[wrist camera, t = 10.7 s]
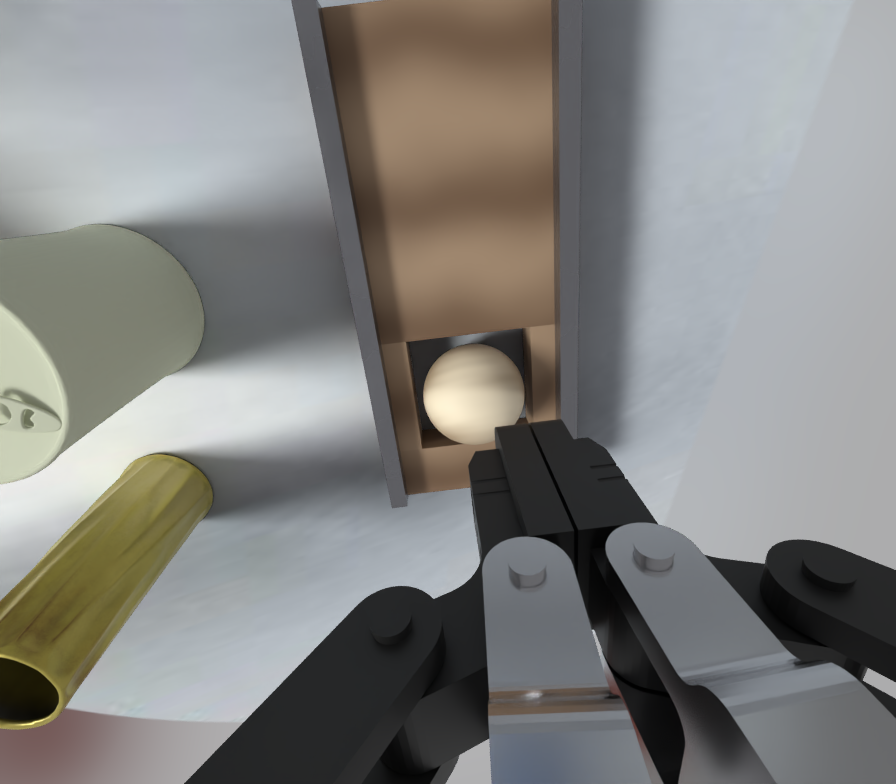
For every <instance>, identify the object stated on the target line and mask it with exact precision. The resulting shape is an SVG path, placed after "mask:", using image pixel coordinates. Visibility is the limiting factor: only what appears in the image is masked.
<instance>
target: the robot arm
mask: <svg viewBox="0 0 896 784" xmlns="http://www.w3.org/2000/svg"><path fill="white" fill-rule="evenodd" d="M495 447H496V449H491V450H483V451H475V453H474V455H473V457H472V459H471V461H470V463H469V465H468V469H469V478H470V488H471V497H472V506H473V515H474V523H475V529H476V536H477V542H478V549H479V556H480V564H479V567H478V569H477V570H476V572H475V574H474V575H473V576H472V577H471V578H470V579H469V580H468V581H467V582H466V583H465V584H463V585H462V586H460V587H459V588H457V589H455V590H453V591H451V592H449V593H447V594H445V595H442V596H440V597H438V598H435V599H433V598H432V597H431V596H430V595H428V594H427V593H425V592H424V591H422V590H419V589H417V588H413V587H409V586H395V587H389V588H385V589H382V590H380V591H377V592H375V593H373V594H371V595H370V596H368V597H367V598H365V599H364V600H363V601H362V602H360V603H359V604H358V605H357V606H356V607H355V608H354V609H353V610H352V611H351V612H350V613H349V614H348V615H347V616H346V618H345V619H344V620H343V621H342V622H341V623H340V624H339V625H338V626H337V627H336V628H335V629H334V630H333V631H332V632H331V633H330V634H329V635H328V636H327V637H326V638H325V639H324V640H323V641H322V642H321V643H320V644H319V645H318V646H317V647H316V648H315V649H314V650H313V652H312V653H311V654H310V655H309V656H308V657H307V658H306V659H305V660H304V661H303V662H302V663H301V664H300V665H299V666H298V667H297V668H296V669H295V670H294V671H293V672H292V673H291V674H290V675H289V676H288V677H287V678H286V679H285V680H284V681H283V682H282V683H281V684H280V686H279V687H278V688H277V689H276V690H275V691H274V692H273V693H272V694H271V695H270V696H269V697H268V698H267V699H266V700H265V701H264V702H263V703H262V704H261V705H260V706H259V707H258V708H257V709H256V710H255V711H254V712H253V713H252V714H251V715H250V716H249V717H248V718H247V720H246V721H245V722H244V723H243V724H242V725H241V726H240V727H239V728H238V729H237V730H236V731H235V732H234V733H233V734H232V735H231V736H230V737H229V738H228V739H227V740H226V741H225V742H224V743H223V744H222V745H221V746H220V747H219V748H218V749H217V750H216V751H215V752H214V754H213V755H212V756H211V757H210V758H209V759H208V760H207V761H206V762H205V763H204V764H203V765H202V766H201V767H200V768H199V769H198V770H197V771H196V772H195V773H194V774H193V775H192V776H191V777H190V778H189V779H188V780H187V781H186V782H185V783H184V784H445V783H446V782H447V780H448V778H449V776H450V775H451V773H452V771H453V769H454V767H455V765H456V763H457V761H458V758H459V755H460V754H462V753H464V752H465V751H467V750H469V749H471V748H473V747H474V746H476V745H478V744H480V743H482V742H483V741H485V740H487V739H489V740H490V759H491V760H490V761H491V780H492V784H896V699H895V698H893V697H892V696H890V695H888V694H886V693H884V692H882V691H881V690H879V689H877V688H875V687H873V686H871V685H869V684H868V683H866V682H864V681H863V678H864V676H865V673H866V671H867V669H868V668H870V669H871V670H873V671H875V672H877V673H879V674H881V675H883V676H885V677H887V678H889V679H890V680H893V681H894V682H896V570H894V569H891V568H889V567H886V566H884V565H881V564H879V563H876V562H873V561H871V560H868V559H866V558H863V557H861V556H858V555H855V554H853V553H851V552H848V551H846V550H843V549H840V548H838V547H835V546H832V545H829V544H825V543H821V542H816V541H810V540H788V541H783V542H780V543H778V544H776V545H774V546H772V548H771V549H770V550H769V551H768V554H767V557H766V560H765V564H761V563H753V562H744V561H736V560H728V559H721V558H715V557H710V556H707V555H704V554H703V553H702V552H701V551H700V550H699V548H698V547H697V546H696V545H695V544H694V543H693V542H692V541H691V540H689V539H688V538H687V537H686V536H684V535H683V534H681V533H679V532H677V531H675V530H673V529H671V528H668V527H665V526H662V525H658V523H657V522H656V520H655V519H654V518H653V516H652V515H651V513H650V512H649V510H648V509H647V507H646V506H645V505H644V503H643V502H642V500H641V499H640V497H639V496H638V495H637V493H636V492H635V490H634V489H633V487H632V486H631V484H630V483H629V482H628V480H627V479H625V477H624V474H623V473H622V471H621V470H620V469H619V467H618V466H616V463H615V461H614V460H613V458H612V457H611V456H610V454H609V453H608V451H607V450H606V449H605V448H604V447H602V446H601V445H599V444H597V443H596V442H594V441H593V440H591V439H589V438H580V439H573V437H572V436H571V434H570V432H569V431H568V429H567V427H566V425H565V424H564V422H563V421H562V420H561V419H556V420H548V421H540V422H531V423H528V424H527V423H524V424H516V425H508V426H499V427H495ZM592 630H595V632H596V635H597V637H598V640H599V642H600V645H601V656H599V653H598V649H597V646H596V643H595V639H594V636H593V632H592Z"/></svg>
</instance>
